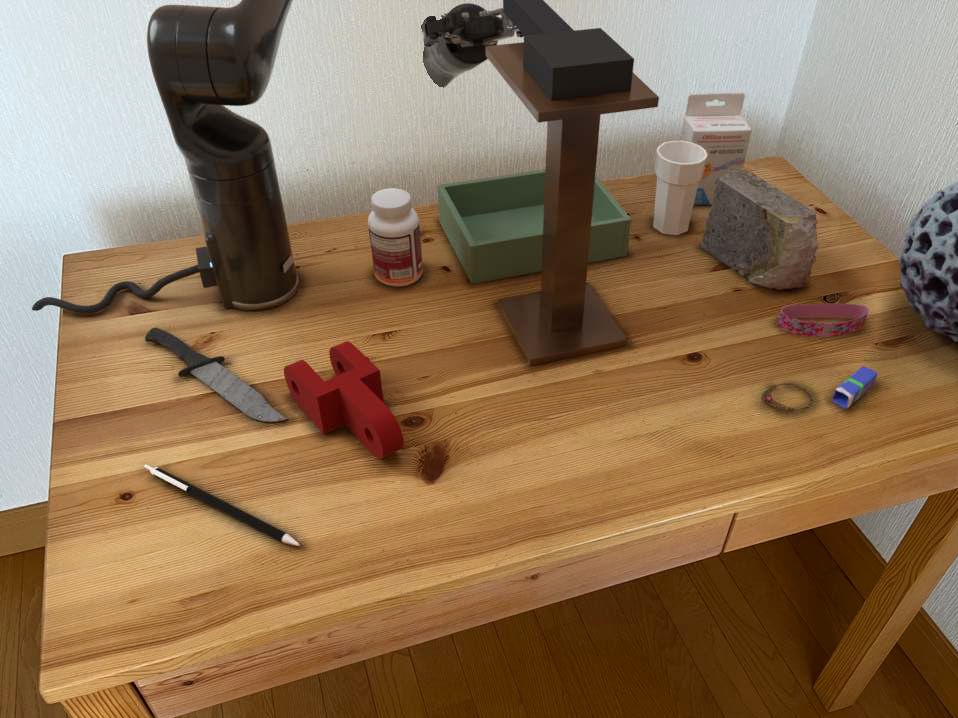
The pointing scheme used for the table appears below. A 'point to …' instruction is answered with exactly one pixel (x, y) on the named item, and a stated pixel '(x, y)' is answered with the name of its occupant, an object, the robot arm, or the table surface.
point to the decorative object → (933, 262)
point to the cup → (677, 184)
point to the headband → (822, 310)
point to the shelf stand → (564, 218)
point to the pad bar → (568, 53)
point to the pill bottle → (395, 238)
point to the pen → (222, 505)
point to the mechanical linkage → (347, 399)
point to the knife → (217, 377)
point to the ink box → (716, 138)
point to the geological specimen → (761, 232)
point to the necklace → (768, 399)
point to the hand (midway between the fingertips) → (494, 14)
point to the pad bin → (518, 224)
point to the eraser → (854, 387)
